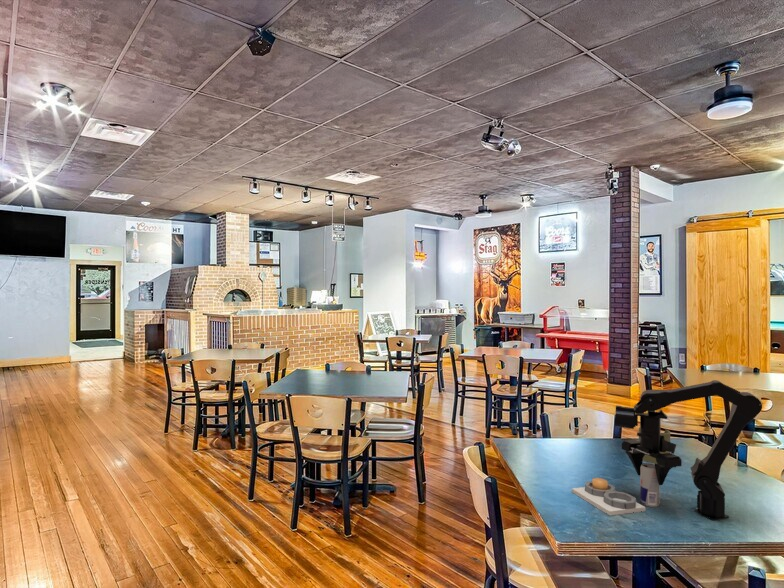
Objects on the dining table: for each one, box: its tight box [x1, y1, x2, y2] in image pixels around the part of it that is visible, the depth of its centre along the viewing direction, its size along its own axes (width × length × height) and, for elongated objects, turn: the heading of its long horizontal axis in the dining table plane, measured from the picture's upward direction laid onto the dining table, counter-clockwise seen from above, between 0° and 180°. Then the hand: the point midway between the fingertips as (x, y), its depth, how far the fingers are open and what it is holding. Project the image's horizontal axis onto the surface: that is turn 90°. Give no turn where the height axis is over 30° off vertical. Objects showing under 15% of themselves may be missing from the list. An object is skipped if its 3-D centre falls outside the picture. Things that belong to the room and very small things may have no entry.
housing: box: [571, 477, 646, 516], centre depth 152 cm, size 18×13×5 cm
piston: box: [638, 426, 671, 465], centre depth 194 cm, size 11×12×11 cm
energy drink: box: [639, 462, 661, 508], centre depth 150 cm, size 5×5×12 cm
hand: (649, 480), depth 150 cm, fingers open, 8 cm apart
